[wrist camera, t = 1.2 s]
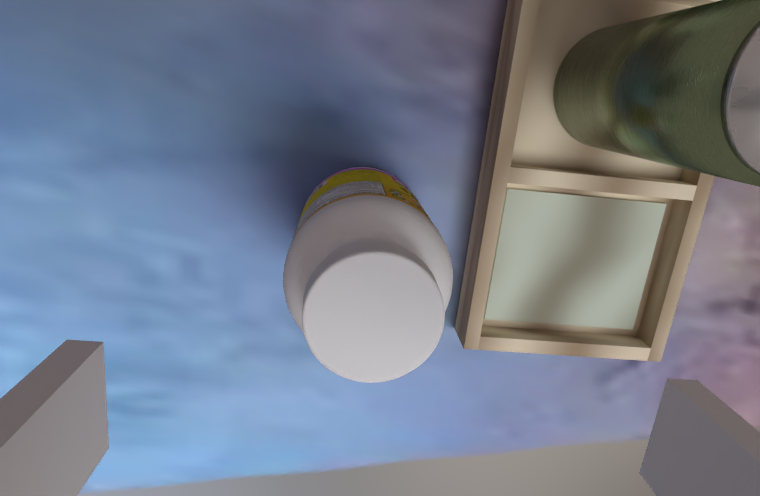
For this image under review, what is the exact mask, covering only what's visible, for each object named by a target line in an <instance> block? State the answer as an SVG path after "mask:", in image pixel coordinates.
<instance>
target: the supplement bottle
mask: <svg viewBox="0 0 760 496" xmlns="http://www.w3.org/2000/svg"><path fill="white" fill-rule="evenodd" d="M452 285H453V270H452V263H451V259H450V255H449V252H448V249H447V246H446V244H445V242H444V240H443V238H442V237H441V235H440V233H439V232H438V230H437V229H436V227H435V226H434V224H433V223H432V221H431V220H430V218H429V217H428V215H427V214H426V212H425V211H424V209H423V208H422V206H421V205H420V203H419V202H418V200H417V199H416V197H415V196H414V195H413V193H412V192H411V191H410V190H409V189H408V187H407V186H406V185H405V184H404V183H403V182H401V181H400V180H399V179H398V178H396V177H395V176H393V175H391V174H389V173H387V172H385V171H382V170H379V169H376V168H370V167H354V168H348V169H345V170H341V171H339V172H336V173H334V174H332V175H331V176H329V177H327V178H326V179H325V180H323V181H322V182H321V183H320V184H319V185H318V186H317V187H316V188H315V189H314V190H313V192H312V193H311V195H310V196H309V198H308V200H307V201H306V204H305V206H304V208H303V211H302V214H301V217H300V220H299V223H298V225H297V228H296V232H295V234H294V237H293V240H292V243H291V245H290V248H289V251H288V254H287V257H286V261H285V265H284V273H283V287H284V293H285V298H286V302H287V305H288V308H289V311H290V313H291V315H292V317H293V319H294V320H295V322H296V324H297V325H298V326H299V328H300V329H301V331H302V332H303V333H304V336H305V339H306V341H307V343H308V346H309V348H310V349H311V351H312V353H313V354H314V355H315V357H316V358H317V359H318V360H319V361H320V362H321V363H322V364H323V365H324V366H325V367H326V368H328V369H329V370H331V371H332V372H334V373H336V374H338V375H340V376H342V377H344V378H347V379H350V380H353V381H359V382H370V383H374V382H384V381H389V380H392V379H396V378H399V377H401V376H403V375H405V374H407V373H409V372H411V371H412V370H414V369H416V368H417V367H418V366H419V365H421V364H422V363H423V362H424V361H425V360H426V359H427V358H428V357H429V356H430V355H431V353H432V352H433V351H434V349H435V347H436V346H437V344H438V342H439V340H440V337H441V335H442V331H443V327H444V322H445V311H446V309H447V306H448V304H449V300H450V297H451V292H452Z"/></svg>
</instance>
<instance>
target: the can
mask: <svg viewBox="0 0 760 496" xmlns="http://www.w3.org/2000/svg"><path fill="white" fill-rule="evenodd" d="M553 100H554V107H555V111H556V114H557V117H558V119H559V121H560V123H561V125H562V127H563V128H564V129H565V131H566V132H567V133H568V134H569V135H570V136H571V137H572V138H574V139H575V140H577V141H578V142H580V143H582V144H585V145H588V146H591V147H595V148H599V149H603V150H607V151H612V152H616V153H620V154H624V155H629V156H633V157H637V158H641V159H645V160H650V161H654V162H658V163H662V164H666V165H671V166H675V167H679V168H683V169H688V170H692V171H696V172H700V173H704V174H709V175H713V176H717V177H721V178H726V179H730V180H734V181H738V182H742V183H747V184H751V185H755V186H759V187H760V0H720V1H716V2H712V3H708V4H703V5H699V6H695V7H690V8H686V9H682V10H678V11H673V12H669V13H665V14H660V15H656V16H652V17H648V18H643V19H639V20H635V21H630V22H626V23H622V24H618V25H613V26H609V27H605V28H601V29H598V30H596V31H593V32H592V33H590V34H588V35H586V36H585V37H583V38H582V39H581V40H579V41H578V42H577V43H576V44H575V45H574V46H573V47H572V48H571V49H570V51H569V52H568V53H567V55H566V56H565V57H564V59H563V61H562V63H561V65H560V67H559V69H558V72H557V74H556V78H555V82H554V90H553Z"/></svg>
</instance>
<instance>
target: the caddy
mask: <svg viewBox="0 0 760 496" xmlns="http://www.w3.org/2000/svg"><path fill="white" fill-rule="evenodd" d="M716 1H720V0H508V2H507V9H506V15H505V21H504V27H503V33H502V40H501V46H500V52H499V58H498V64H497V71H496V77H495V83H494V89H493V95H492V101H491V108H490V114H489V120H488V126H487V132H486V139H485V145H484V151H483V157H482V163H481V170H480V176H479V182H478V188H477V194H476V201H475V207H474V213H473V219H472V225H471V231H470V238H469V244H468V250H467V256H466V262H465V269H464V275H463V281H462V287H461V293H460V300H459V306H458V312H457V318H456V324H455V330H456V333H457V335H458V337H459V339H460V341H461V344H462V346H463V348H464V349H476V350H491V351H506V352H522V353H537V354H552V355H567V356H583V357H598V358H613V359H628V360H644V361H659V362H661V358H662V355H663V351H664V348H665V345H666V341H667V338H668V334H669V331H670V327H671V324H672V321H673V317H674V314H675V310H676V307H677V304H678V300H679V297H680V293H681V290H682V286H683V283H684V280H685V276H686V273H687V269H688V266H689V262H690V259H691V256H692V252H693V249H694V245H695V242H696V238H697V235H698V232H699V228H700V225H701V221H702V218H703V214H704V211H705V208H706V204H707V201H708V197H709V194H710V191H711V187H712V184H713V180H714V177H715V176H713V175H709V174H704V173H700V172H696V171H692V170H688V169H683V168H679V167H675V166H671V165H666V164H662V163H658V162H654V161H650V160H645V159H641V158H637V157H633V156H629V155H624V154H620V153H616V152H612V151H607V150H603V149H599V148H595V147H591V146H588V145H585V144H582V143H580V142H578V141H577V140H575V139H574V138H572V137H571V136H570V135H569V134H568V133H567V132H566V131H565V129H564V128H563V127H562V125H561V123H560V121H559V119H558V117H557V114H556V111H555V107H554V100H553V90H554V82H555V78H556V74H557V72H558V69H559V67H560V65H561V63H562V61H563V59H564V57H565V56H566V55H567V53H568V52H569V51H570V49H571V48H572V47H573V46H574V45H575V44H576V43H577V42H578V41H579V40H581V39H582V38H583V37H585V36H586V35H588V34H590V33H592V32H593V31H596V30H598V29H601V28H605V27H609V26H613V25H618V24H622V23H626V22H630V21H635V20H639V19H643V18H648V17H652V16H656V15H660V14H665V13H669V12H673V11H678V10H682V9H686V8H690V7H695V6H699V5H703V4H708V3H712V2H716Z"/></svg>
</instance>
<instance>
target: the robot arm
mask: <svg viewBox="0 0 760 496" xmlns="http://www.w3.org/2000/svg"><path fill="white" fill-rule="evenodd" d="M108 448H109V441H108V421H107V402H106V383H105V364H104V345H103V342H94V341H79V340H66V341H65V342H64V343H63V344H62V345H60V346H59V347H58V348H57V349H56V350H55V351H54V352H53V353H52V354H50V355H49V356H48V357H47V358H46V359H45V360H44V361H43V362H41V363H40V364H39V365H38V366H37V367H36V368H35V369H34V370H32V371H31V372H30V373H29V374H28V375H27V376H26V377H25V378H23V379H22V380H21V381H20V382H19V383H18V384H17V385H16V386H14V387H13V388H12V389H11V390H10V391H9V392H8V393H7V394H5V395H4V396H3V397H2V398H1V399H0V496H77V495H78V493H79V492H80V490H81V489H82V487H83V486H84V484H85V483H86V481H87V480H88V478H89V477H90V475H91V474H92V472H93V471H94V469H95V468H96V466H97V465H98V463H99V462H100V460H101V459H102V457H103V456H104V454H105V453H106V451H107V450H108ZM640 475H641V476H642V477H643V479H644V480H645V481H646V483H647V484H648V485H649V487H650V488H651V489H652V490H653V492H654V493H655V494H656V496H760V433H759V432H758V431H757V430H756V429H755V428H754V427H753V426H751V425H750V424H749V423H748V422H747V421H745V420H744V419H743V418H742V417H741V416H739V415H738V414H737V413H736V412H735V411H733V410H732V409H731V408H730V407H728V406H727V405H726V404H725V403H724V402H722V401H721V400H720V399H719V398H718V397H716V396H715V395H714V394H713V393H712V392H710V391H709V390H708V389H707V388H706V387H704V386H703V385H702V384H701V383H700V382H698V381H697V380H683V379H668V378H667V381H666V385H665V388H664V392H663V395H662V398H661V402H660V405H659V408H658V412H657V415H656V419H655V422H654V425H653V429H652V432H651V435H650V439H649V442H648V446H647V449H646V452H645V456H644V459H643V462H642V466H641V469H640Z"/></svg>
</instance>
